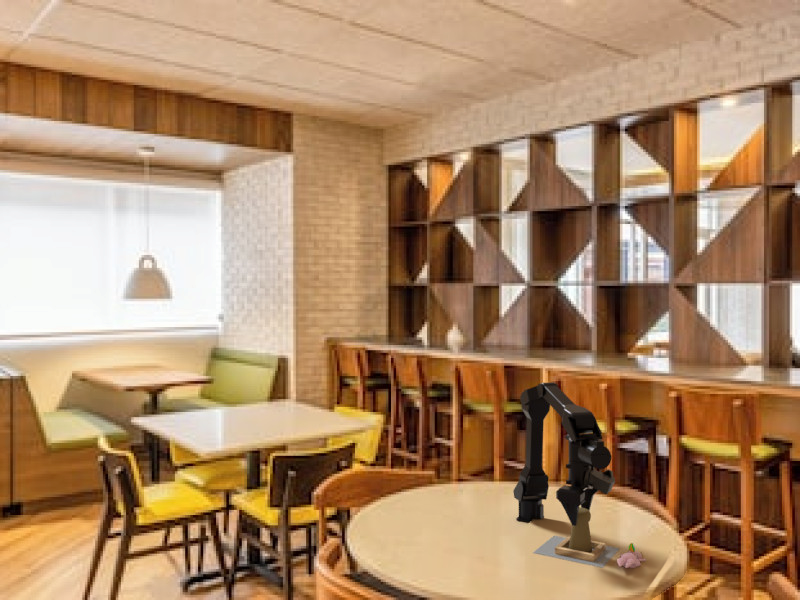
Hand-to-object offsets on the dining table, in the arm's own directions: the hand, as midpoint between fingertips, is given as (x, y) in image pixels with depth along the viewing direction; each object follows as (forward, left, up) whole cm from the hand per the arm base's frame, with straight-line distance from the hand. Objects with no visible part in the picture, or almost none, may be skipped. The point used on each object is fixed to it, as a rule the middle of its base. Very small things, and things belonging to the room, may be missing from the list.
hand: (580, 520), depth 176 cm
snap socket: (0, 0, -8) cm, 8 cm away
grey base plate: (-1, 0, -9) cm, 9 cm away
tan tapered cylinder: (0, 0, -8) cm, 8 cm away
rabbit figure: (+13, -1, -9) cm, 16 cm away
